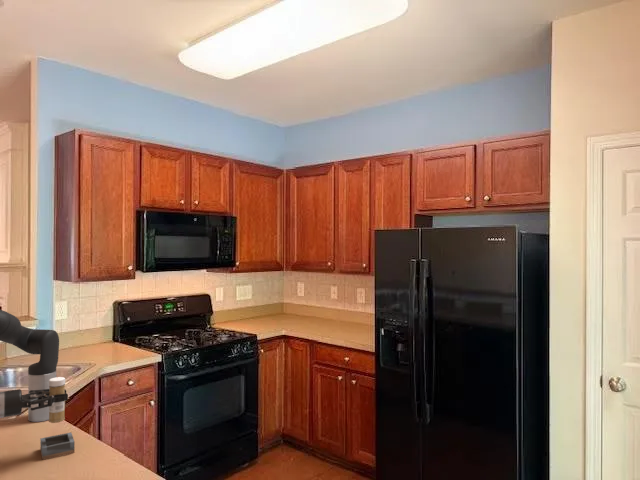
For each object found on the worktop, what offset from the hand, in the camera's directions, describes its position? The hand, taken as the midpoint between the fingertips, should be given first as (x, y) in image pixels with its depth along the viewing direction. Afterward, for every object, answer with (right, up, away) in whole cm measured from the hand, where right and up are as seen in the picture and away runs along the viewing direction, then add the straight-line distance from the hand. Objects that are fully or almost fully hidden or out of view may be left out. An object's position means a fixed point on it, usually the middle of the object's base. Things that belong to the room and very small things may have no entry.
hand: (66, 394), depth 153 cm
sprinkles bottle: (-2, -8, -2) cm, 8 cm away
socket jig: (-2, -17, -1) cm, 18 cm away
